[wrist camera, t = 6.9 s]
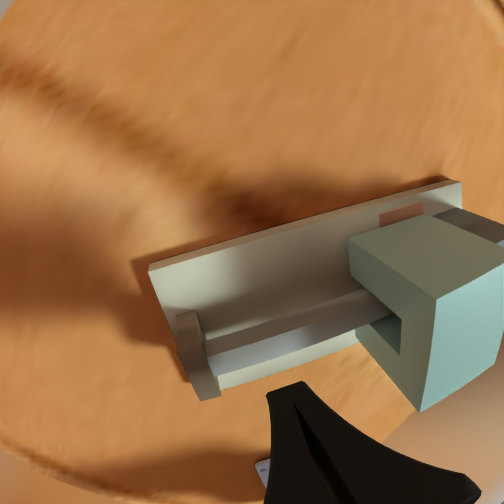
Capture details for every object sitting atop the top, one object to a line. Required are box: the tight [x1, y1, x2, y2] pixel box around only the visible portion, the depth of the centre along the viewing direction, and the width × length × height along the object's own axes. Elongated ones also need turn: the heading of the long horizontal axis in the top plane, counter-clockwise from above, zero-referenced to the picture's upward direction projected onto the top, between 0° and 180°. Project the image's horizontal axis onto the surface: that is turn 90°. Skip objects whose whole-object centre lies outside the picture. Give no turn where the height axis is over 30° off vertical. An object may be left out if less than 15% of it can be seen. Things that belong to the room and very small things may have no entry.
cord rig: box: [148, 179, 504, 401], centre depth 15 cm, size 8×18×6 cm, turn 103°
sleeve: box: [347, 214, 504, 413], centre depth 13 cm, size 6×5×6 cm
